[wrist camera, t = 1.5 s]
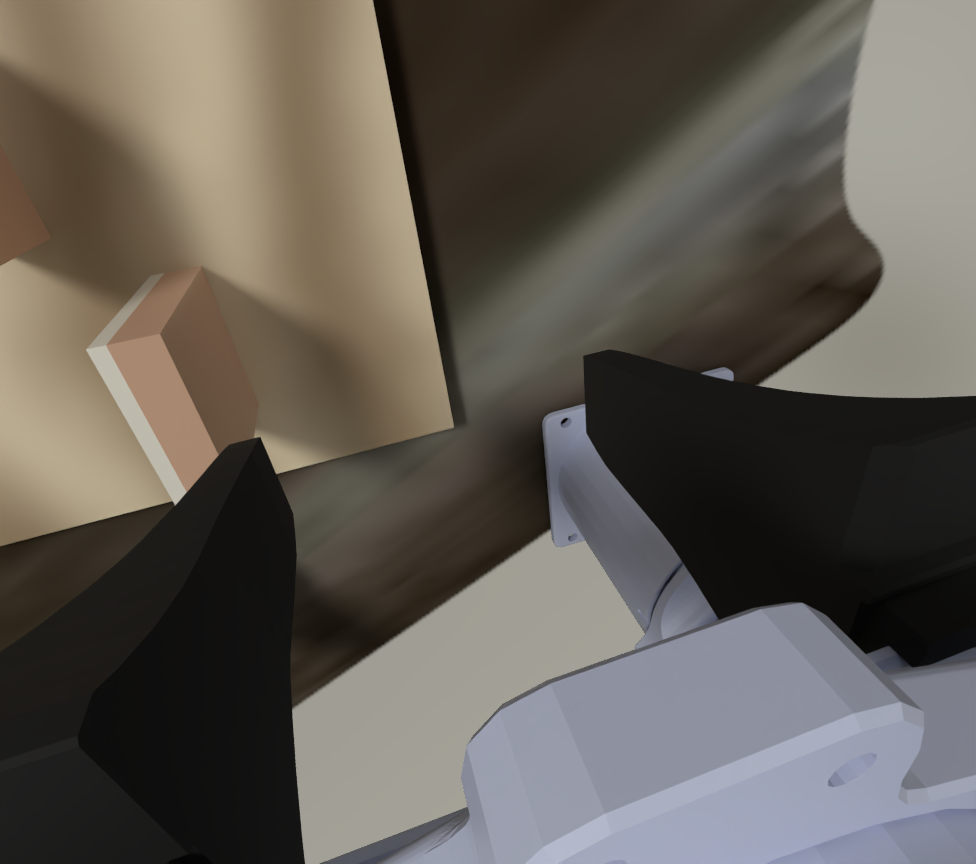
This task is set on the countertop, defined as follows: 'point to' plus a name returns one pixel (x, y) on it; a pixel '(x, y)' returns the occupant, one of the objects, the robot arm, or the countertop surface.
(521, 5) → the countertop surface
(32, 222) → the tan piece
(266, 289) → the maple board
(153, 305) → the cream tile
